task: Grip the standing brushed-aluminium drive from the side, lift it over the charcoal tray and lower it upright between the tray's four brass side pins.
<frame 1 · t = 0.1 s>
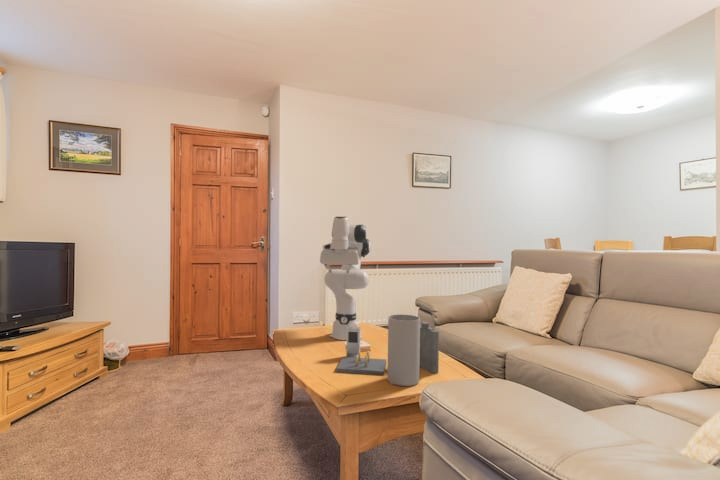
hand: (339, 273, 187), 39 cm above the table, tool pointing down, fingers open, 8 cm apart
cylinder vase: (403, 381, 143), on the table
drive: (353, 357, 172), on the table
pin tray: (362, 367, 158), on the table
hip flask: (424, 368, 159), on the table
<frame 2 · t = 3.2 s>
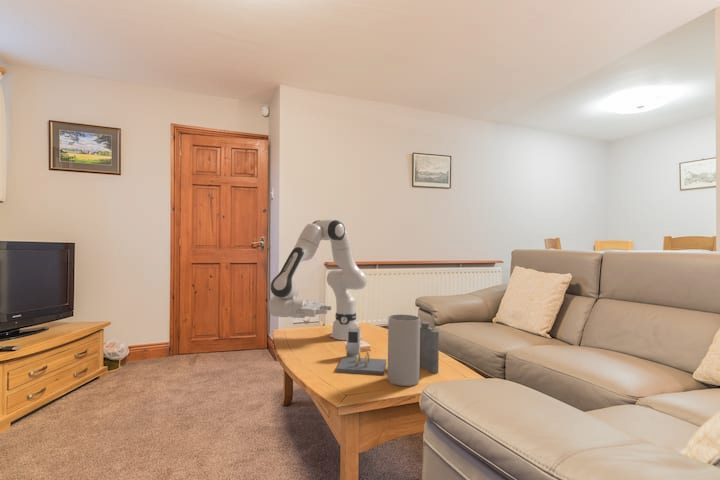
hand: (329, 309, 174), 22 cm above the table, tool horizontal, fingers open, 8 cm apart
nothing on the table moved.
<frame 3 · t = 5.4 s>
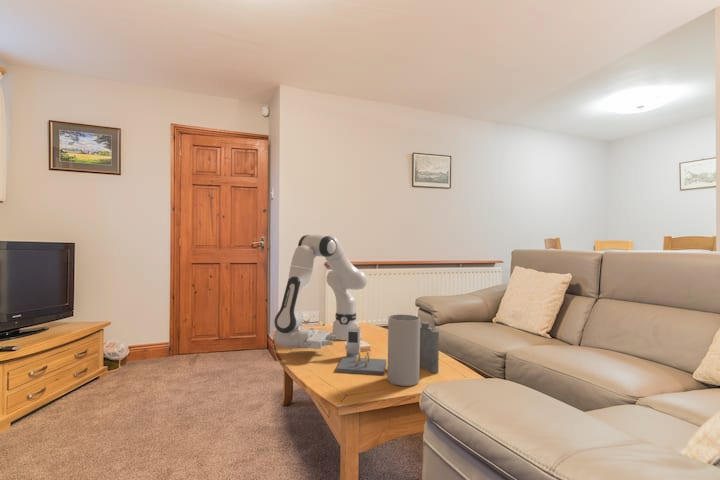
hand: (335, 340, 173), 8 cm above the table, tool horizontal, fingers open, 8 cm apart
nothing on the table moved.
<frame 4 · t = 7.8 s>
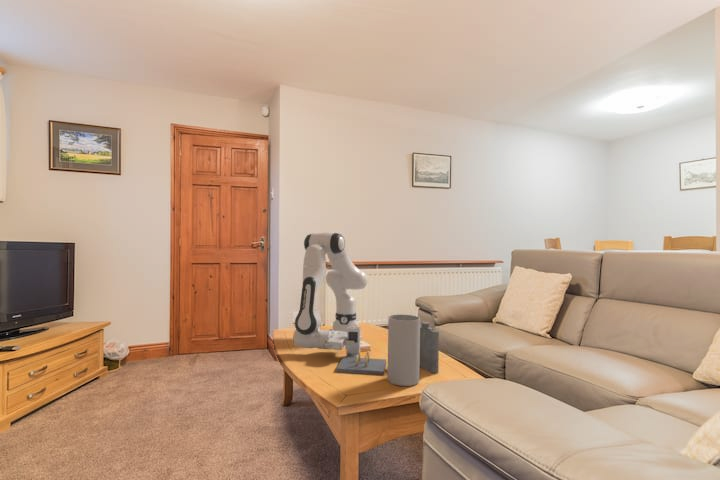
hand: (355, 341, 172), 8 cm above the table, tool horizontal, fingers closed on drive, 4 cm apart
drive: (353, 357, 172), on the table, touching gripper
everything else where it was.
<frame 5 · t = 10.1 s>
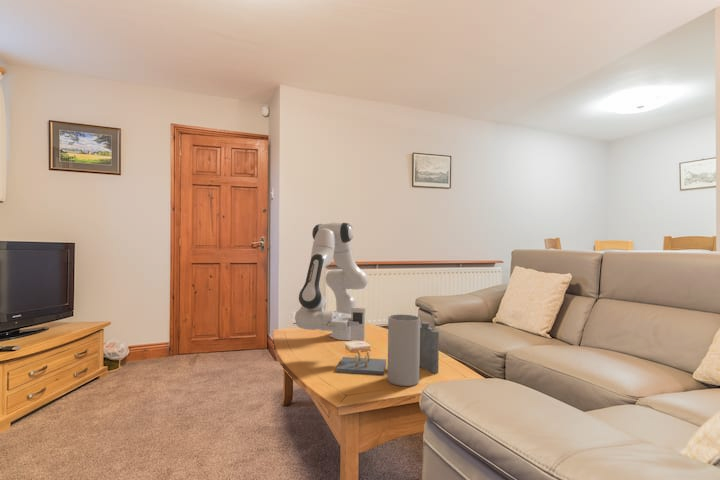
hand: (360, 322, 164), 18 cm above the table, tool horizontal, fingers closed on drive, 4 cm apart
drive: (357, 339, 164), point 11 cm above the table, touching gripper
everything else where it was.
when the fingers open (11 cm above the table, at t = 12.7 s): drive drops 1 cm, resting on pin tray.
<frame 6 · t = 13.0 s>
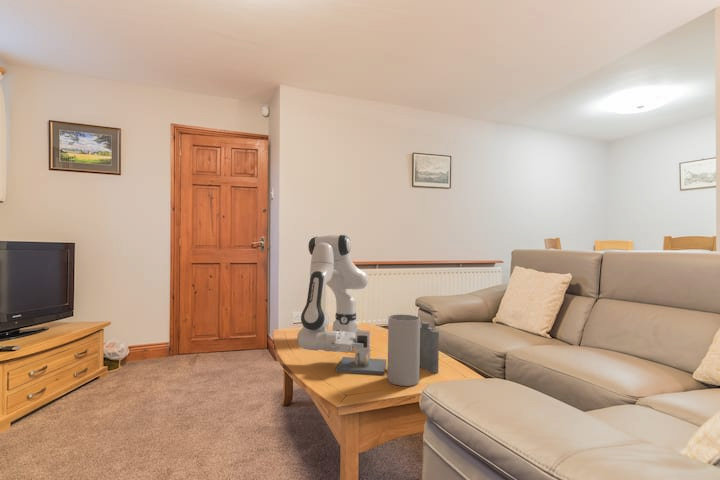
hand: (364, 342, 158), 11 cm above the table, tool horizontal, fingers open, 7 cm apart
drive: (362, 363, 158), point 2 cm above the table, touching pin tray
everything else where it was.
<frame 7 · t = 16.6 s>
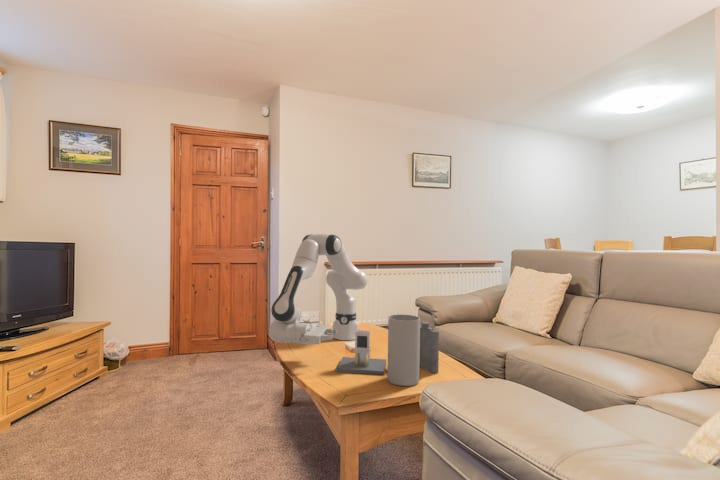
hand: (334, 334, 161), 13 cm above the table, tool horizontal, fingers open, 8 cm apart
nothing on the table moved.
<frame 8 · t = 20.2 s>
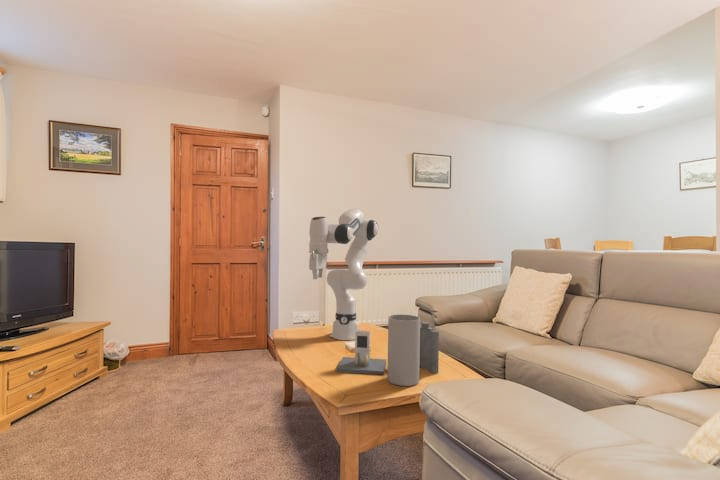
hand: (317, 278, 175), 37 cm above the table, tool pointing down, fingers open, 8 cm apart
nothing on the table moved.
at the end: drive 0.2 cm off-centre on the pin tray, point 1.5 cm above the pin tray's base; drive tilted 0°; the gripper is holding nothing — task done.
